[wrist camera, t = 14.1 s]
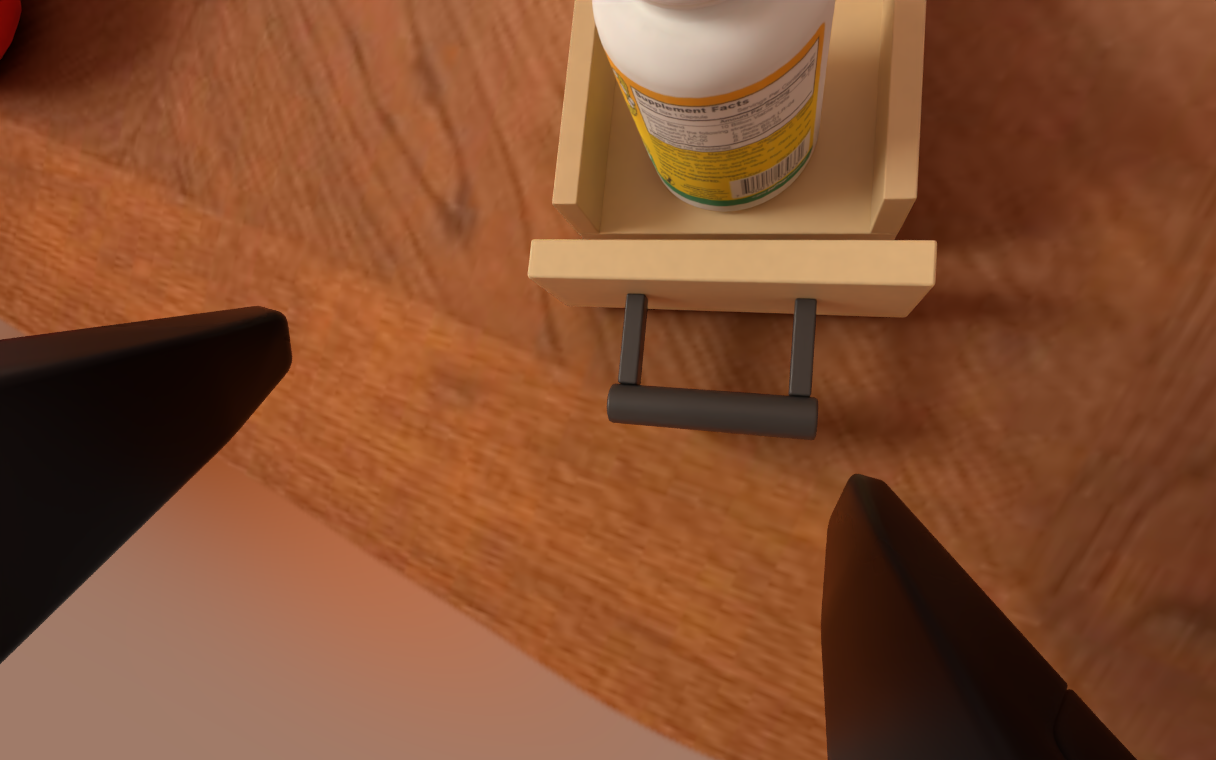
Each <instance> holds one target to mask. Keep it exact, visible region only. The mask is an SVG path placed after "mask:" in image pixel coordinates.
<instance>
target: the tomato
mask: <svg viewBox="0 0 1216 760" xmlns="http://www.w3.org/2000/svg"><path fill="white" fill-rule="evenodd" d="M21 10H22V9H21V1H20V0H0V60H1V58H2V57H3V55H4V53H5V52H6V50H7V49H8V47H9V46H10V44H11V42H12V40H13V37H14V34H15V31H16V28H17V25H18V22H19V19H20V15H21Z"/></svg>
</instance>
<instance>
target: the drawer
mask: <svg viewBox="0 0 1216 760" xmlns="http://www.w3.org/2000/svg"><path fill="white" fill-rule="evenodd" d="M925 18H926V0H835V8H834V15H833V22H832V29H831V37H830V45H829V53H828V61H827V70H826V79H825V87H824V95H823V104H822V113H821V121H820V128H819V134H818V139H817V143H816V146H815V149H814V151H813V154H812V156H811V158H810V160H809V162H808V163H807V165H806V166H805V168H804V170H803V171H802V172H801V174H800V175H799V176H798V178H797V179H796V180H795V181H794V182H793V183H792V184H791V185H790V186H789V187H787V188H786V189H785V190H784V191H782V192H781V193H780V194H778V195H777V196H775V197H773V198H772V199H770V200H768V201H766V202H764V203H762V204H759V205H757V206H754V207H750V208H747V209H742V210H738V211H727V212H721V211H712V210H706V209H702V208H698V207H695V206H693V205H690V204H688V203H686V202H684V201H682V200H681V199H679V198H678V197H676V196H675V195H674V194H673V193H672V192H670V190H669V189H668V188H667V187H666V186H665V185H664V183H663V182H662V180H661V178H660V177H659V175H658V173H657V171H656V169H655V167H654V165H653V163H652V161H651V159H650V157H649V155H648V152H647V150H646V148H645V145H644V143H643V140H642V138H641V135H640V133H639V131H638V129H637V126H636V124H635V121H634V119H633V117H632V115H631V112H630V110H629V108H628V105H627V103H626V101H625V98H624V96H623V93H622V91H621V89H620V86H619V84H618V82H617V79H616V77H615V75H614V72H613V70H612V68H611V65H610V63H609V60H608V58H607V55H606V53H605V50H604V48H603V45H602V43H601V40H600V37H599V34H598V31H597V27H596V24H595V20H594V14H593V7H592V0H575V5H574V13H573V22H572V31H571V40H570V49H569V58H568V67H567V76H566V85H565V93H564V102H563V111H562V120H561V129H560V138H559V147H558V156H557V165H556V173H555V182H554V191H553V200H552V204H553V205H554V207H555V208H556V209H557V210H558V211H559V212H560V213H561V215H562V216H563V217H564V218H565V219H566V220H567V221H568V222H569V224H570V225H571V226H572V227H573V228H574V229H575V230H576V232H577V233H579V234H580V236H581V237H582V238H583V239H534V240H532V242H531V251H530V259H529V268H528V277H529V278H530V279H531V280H533V281H534V282H536V283H537V284H538V285H540V286H541V287H542V288H544V289H545V290H546V291H548V292H549V293H551V294H552V295H553V296H555V297H556V298H557V299H559V300H560V301H561V302H563V303H564V304H566V305H567V306H583V307H612V308H625V315H624V326H623V336H622V346H621V356H620V367H619V377H618V382H619V383H621V384H613V385H612V386H611V388H610V391H609V394H608V399H607V414H608V418H609V421H611V422H613V423H624V424H635V425H646V426H657V427H669V428H680V429H691V430H702V431H714V432H725V433H736V434H747V435H759V436H770V437H781V438H792V439H804V440H814V439H815V437H816V432H817V422H818V400H817V399H816V398H813V397H810V395H811V388H812V373H813V357H814V341H815V326H816V315H845V316H874V317H903V318H904V317H907V316H908V315H909V313H910V312H911V311H912V310H913V309H914V308H915V307H916V306H917V304H918V303H919V302H920V301H921V300H922V299H923V298H924V296H925V295H926V294H927V293H928V292H929V291H930V290H931V289H932V287H933V286H934V285H935V282H936V259H937V242H936V241H934V240H895V238H896V236H897V234H898V232H899V231H900V229H901V227H902V225H903V223H904V221H905V219H906V217H907V216H908V214H909V212H910V210H911V208H912V206H913V204H914V202H915V200H916V198H917V187H918V166H919V145H920V124H921V103H922V81H923V60H924V39H925ZM647 309H670V310H699V311H728V312H757V313H786V314H794V321H793V336H792V350H791V365H790V380H789V396H784V395H770V394H756V393H742V392H728V391H713V390H699V389H685V388H671V387H656V386H642V385H640V384H641V373H642V362H643V351H644V341H645V330H646V319H647Z"/></svg>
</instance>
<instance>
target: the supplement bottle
mask: <svg viewBox="0 0 1216 760" xmlns="http://www.w3.org/2000/svg"><path fill="white" fill-rule="evenodd" d="M592 7H593V14H594V20H595V24H596V27H597V31H598V34H599V37H600V40H601V43H602V45H603V48H604V50H605V53H606V55H607V58H608V60H609V63H610V65H611V68H612V70H613V72H614V75H615V77H616V79H617V82H618V84H619V86H620V89H621V91H622V93H623V96H624V98H625V101H626V103H627V105H628V108H629V110H630V112H631V115H632V117H633V119H634V121H635V124H636V126H637V129H638V131H639V133H640V135H641V138H642V140H643V143H644V145H645V148H646V150H647V152H648V155H649V157H650V159H651V161H652V163H653V165H654V167H655V169H656V171H657V173H658V175H659V177H660V178H661V180H662V182H663V183H664V185H665V186H666V187H667V188H668V189H669V190H670V192H672V193H673V194H674V195H675V196H676V197H678V198H679V199H681V200H682V201H684V202H686V203H688V204H690V205H693V206H695V207H698V208H702V209H706V210H712V211H721V212H727V211H738V210H742V209H747V208H750V207H754V206H757V205H759V204H762V203H764V202H766V201H768V200H770V199H772V198H773V197H775V196H777V195H778V194H780V193H781V192H782V191H784V190H785V189H786V188H787V187H789V186H790V185H791V184H792V183H793V182H794V181H795V180H796V179H797V178H798V176H799V175H800V174H801V172H802V171H803V170H804V168H805V166H806V165H807V163H808V162H809V160H810V158H811V156H812V154H813V151H814V149H815V146H816V143H817V139H818V134H819V128H820V121H821V113H822V104H823V95H824V87H825V79H826V70H827V61H828V53H829V45H830V37H831V29H832V22H833V15H834V8H835V0H592Z"/></svg>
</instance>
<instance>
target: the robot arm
mask: <svg viewBox="0 0 1216 760" xmlns="http://www.w3.org/2000/svg"><path fill="white" fill-rule="evenodd" d="M291 363H292V351H291V343H290V336H289V328H288V322H287V319H286V317H285V316H284V314H282V313H281V312H279V311H275V310H272V309H268V308H265V307H261V306H253V307H245V308H238V309H230V310H222V311H215V312H207V313H200V314H192V315H184V316H177V317H169V318H162V319H154V320H147V321H139V322H131V323H124V324H116V325H109V326H101V327H93V328H86V329H78V330H71V331H63V332H55V333H48V334H40V335H33V336H25V337H17V338H11V339H2V340H0V664H1V663H2V662H3V661H4V660H5V659H6V658H7V657H8V656H9V655H10V654H11V653H12V652H13V651H14V650H15V649H16V648H17V647H18V646H19V645H20V644H21V643H22V642H23V641H24V640H25V639H26V638H28V637H29V635H30V634H32V633H33V632H34V631H35V630H36V629H37V628H38V627H39V626H40V625H41V624H42V623H43V622H44V621H45V620H46V619H47V618H48V617H49V616H50V615H51V614H52V613H53V612H54V611H55V610H56V609H57V608H58V607H59V606H60V605H61V604H62V603H64V602H65V601H66V599H68V598H69V597H70V596H71V595H72V594H73V593H74V592H75V591H76V590H77V589H78V588H79V587H80V586H81V585H82V584H83V583H84V582H85V581H86V580H87V579H88V578H89V577H90V576H91V575H92V574H93V573H94V572H95V571H96V570H97V569H98V568H99V567H100V566H101V565H103V563H105V562H106V561H107V560H108V559H109V558H110V557H111V556H112V555H113V554H114V553H115V552H116V551H117V550H118V549H119V548H120V547H121V546H122V545H123V544H124V543H125V542H126V541H127V540H128V539H129V538H130V537H131V536H132V535H133V534H134V533H135V532H136V531H137V530H138V529H140V528H141V527H142V526H143V525H144V524H145V523H146V521H148V520H149V519H150V518H151V517H152V516H153V515H154V514H155V513H156V512H157V511H158V510H159V509H160V508H161V507H162V506H163V505H164V504H165V503H166V502H167V501H168V500H169V499H170V498H171V497H172V496H173V495H175V494H176V493H177V492H178V490H179V489H181V488H182V487H183V486H184V485H185V484H186V483H187V482H188V481H189V480H190V479H191V478H192V477H193V476H194V475H195V474H196V473H197V472H198V471H199V470H200V469H201V468H202V467H203V466H204V465H205V464H206V463H207V462H208V461H209V460H211V459H212V458H213V457H214V456H215V455H216V454H217V453H218V452H219V451H220V450H221V449H222V448H223V447H224V446H225V445H226V444H227V443H228V442H229V441H230V440H231V438H232V437H233V436H234V435H235V434H236V433H237V432H238V431H239V429H240V428H241V427H242V426H243V425H244V423H245V422H246V421H247V420H248V419H249V418H250V416H251V415H252V414H253V413H254V412H255V410H256V409H257V408H258V407H259V406H260V404H261V403H262V402H263V401H264V400H265V398H266V397H267V396H268V395H269V394H270V393H271V391H272V390H273V389H274V388H275V387H276V385H277V384H278V383H279V382H280V381H281V379H282V378H283V377H284V376H285V375H286V373H287V372H288V371H289V369H290V366H291ZM821 644H822V662H823V680H824V698H825V716H826V734H827V752H828V760H1137V759H1136V758H1135V757H1134V756H1133V755H1132V754H1131V753H1130V752H1129V751H1128V750H1127V748H1126V747H1125V746H1124V745H1123V744H1122V743H1121V742H1120V741H1119V740H1118V739H1117V738H1116V737H1115V736H1114V735H1113V733H1112V732H1111V731H1110V730H1109V729H1108V728H1107V727H1106V726H1105V725H1104V724H1103V723H1102V722H1101V721H1100V719H1099V718H1098V717H1097V716H1096V715H1095V714H1094V713H1093V712H1092V711H1091V709H1090V708H1089V707H1088V706H1087V705H1086V704H1085V703H1084V702H1083V701H1082V700H1081V698H1080V697H1079V696H1078V695H1077V694H1076V693H1075V692H1074V691H1073V690H1070V689H1068V690H1067V683H1066V682H1065V681H1064V680H1063V679H1062V678H1061V677H1060V675H1059V674H1058V673H1057V672H1056V671H1055V670H1054V669H1053V668H1052V667H1051V665H1050V664H1049V663H1048V662H1047V661H1046V660H1045V659H1044V658H1043V657H1042V656H1041V654H1040V653H1039V652H1038V651H1037V650H1036V649H1035V648H1034V647H1033V646H1032V644H1031V643H1030V642H1029V641H1028V640H1027V639H1026V638H1025V637H1024V636H1023V634H1022V633H1021V632H1020V631H1019V630H1018V629H1017V628H1016V627H1015V626H1014V625H1013V623H1012V622H1011V621H1010V620H1009V619H1008V618H1007V617H1006V616H1005V615H1004V613H1003V612H1002V611H1001V610H1000V609H999V608H998V607H997V606H996V605H995V604H994V602H993V601H992V600H991V599H990V598H989V597H988V596H987V595H986V594H985V592H984V591H983V590H982V589H981V588H980V587H979V586H978V585H977V584H976V582H975V581H974V580H973V579H972V578H971V577H970V576H969V575H968V574H967V573H966V571H965V570H964V569H963V568H962V567H961V566H960V565H959V564H958V563H957V561H956V560H955V559H954V558H953V557H952V556H951V555H950V554H949V553H948V552H947V550H946V549H945V548H944V547H943V546H942V545H941V544H940V543H939V542H938V540H937V539H936V538H935V537H934V536H933V535H932V534H931V533H930V532H929V530H928V529H927V528H926V527H925V526H924V525H923V524H922V523H921V522H920V521H919V519H918V518H917V517H916V516H915V515H914V514H913V513H912V512H911V511H910V509H909V508H908V507H907V506H906V505H905V504H904V503H903V502H902V501H901V500H900V498H899V497H898V496H897V495H896V494H895V493H894V492H893V491H892V490H891V488H890V487H889V486H888V485H887V484H886V483H885V482H884V481H882V480H879V479H875V478H872V477H868V476H864V475H861V474H854V475H852V476H851V477H850V479H849V480H848V482H847V484H846V486H845V488H844V490H843V492H842V494H841V496H840V498H839V500H838V502H837V504H836V506H835V509H834V511H833V513H832V515H831V518H830V521H829V525H828V530H827V543H826V557H825V571H824V585H823V599H822V614H821Z"/></svg>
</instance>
